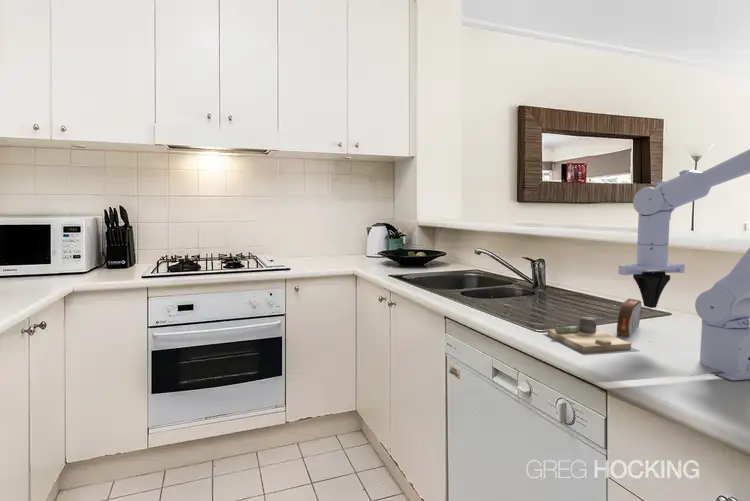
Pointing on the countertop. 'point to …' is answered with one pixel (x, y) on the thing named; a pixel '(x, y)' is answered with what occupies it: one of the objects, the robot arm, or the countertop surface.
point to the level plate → (588, 337)
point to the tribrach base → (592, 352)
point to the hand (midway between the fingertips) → (650, 306)
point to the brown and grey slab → (628, 317)
